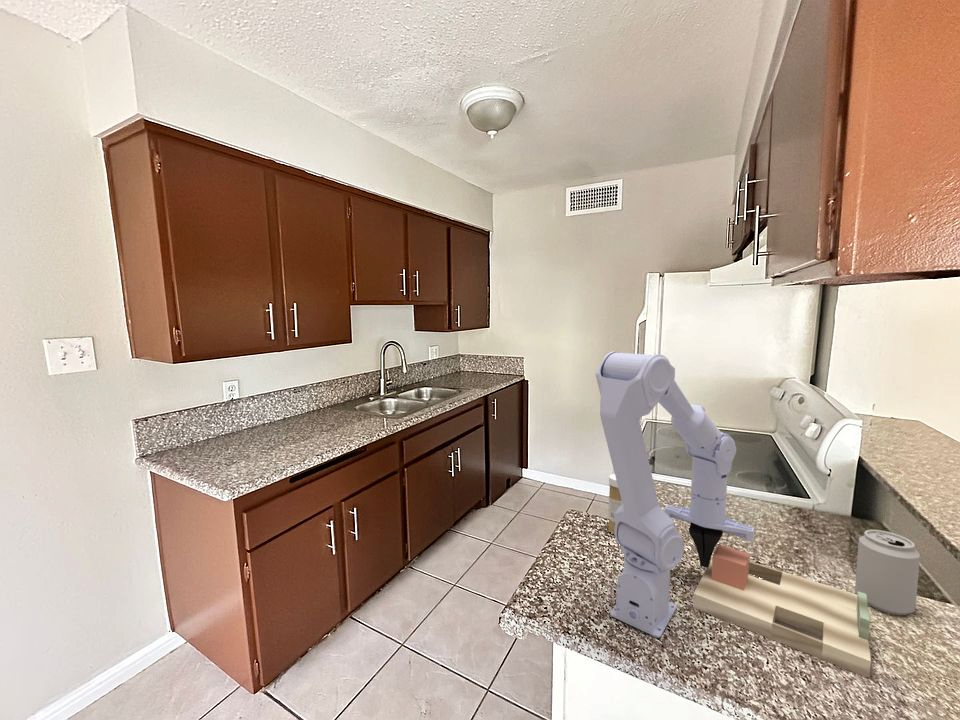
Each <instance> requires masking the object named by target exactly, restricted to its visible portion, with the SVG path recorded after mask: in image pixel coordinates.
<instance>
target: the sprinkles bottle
mask: <svg viewBox="0 0 960 720" xmlns="http://www.w3.org/2000/svg"><path fill="white" fill-rule="evenodd" d="M608 484H609V485H608V486H609V493H608V494H609V495H608V528H607V531H608V530H609V531H608V533H609V532H611V533H612V534H614V530H615V518H614V513H615V512H616V510H617V509H618V508H619V507H620V506H621V505H623V504H622V500H621V496H620V492H619V488H618V484H617V480H616V476H615V473H612V474H610V475H609V476H608ZM612 534H611V535H612Z"/></svg>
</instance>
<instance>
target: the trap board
mask: <svg viewBox="0 0 960 720" xmlns="http://www.w3.org/2000/svg"><path fill="white" fill-rule="evenodd" d="M712 558H713V556H711V560H710V565H709V567H708V568H706V569H705V571H704V573H703V575H702V577H701V579H700V580H699V582H698V585H697V586H696V588H695V590H694V591H693V595H692V596H693V598H692V600H693V601H692V608H693V609H695V610H698V611H701V612H704V613H705V614H708V615H709V616H710V615H711V616H712V617H716V618H718V619H721V620H723V621H726V622H728V623H731V624H733V625H735V626H738V627H739V628H743V629H745V630H748V631H751V632H752V633H756V634H758V635H760V636H763V637H765V638H767V639H770V640H773V641H775V642H778V643H780V644H782V645H786V646H788V647H789V648H791V649H792V648H793V649H795V650H797V651H800V652H803V653H805V654H807V655H810V656H812V657H814V658H817V659H820V660H823V661H824V662H826V663H829V664H833V665H834V664H835V666H837V667H840V668H842V669H845V670H847V671H849V672H852V673H854V674H857V675H859V674H861V675H860V676H862V675H863V676H862V677H864V676H866V677H865V678H867V677H868V678H867V679H870V677H871V667H872V666H871V663H872V659H871V651H870V644H869V639H870V638H869V635H870V634H869V633H870V623H871V620H870V619H871V618H870V612H869V604H868V603H867V596H866V594H865V593H862V592H859V591H858V594H857V593H853V592H850V591H847V590H844V589H840V588H838V587H833V586H831V585H828V584H824V583H821V582H818V581H814V580H811V579H808V578H805V577H802V576H799V575H795V574H792V573H789V572H786V571H783V570H779V569H776V568H773V567H770V566H767V565H764V564H759V563H757V562H754V561H750V560H749V574H752V575H755V576H758V578H756V577H753V576H750V575H748V580H747V583H746V586H745V589H744V591H743V590H740V589H737V588H735V587H732V586H729V585H726V584H723V583H720V582H718V581H715V580H712V579H711V578H712ZM759 577H760V578H763V580H762V579H759Z"/></svg>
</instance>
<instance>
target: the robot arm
mask: <svg viewBox="0 0 960 720" xmlns="http://www.w3.org/2000/svg"><path fill="white" fill-rule="evenodd" d="M595 378H596V382H597V385H598V389H599V394H600V400H599V401H600V402H599V403H600V406H599V414H600V420H601V425H602V429H603V432H604V436H605V441H606V444H607V449H608V452H609V456H610V459H611V464H612V465H611V466H612V468H613V472H614V473H613V474H615V476H616V480H617V484H618V488H619V492H620V496H621V500H622V504H623V505H621V506H620V507H619V508H618V509H617V510H616V512H615V513H614V518H615V530H614V534H615V536H614V538H615V541H616V543H618V545H620V552H621V554H623V556H624V557H623V569H622V571H621V574H620V575H619V577H618V578H617V581H616V592H615V593H616V594H615V605H614V606H613V608H611V610H610V611H609V615H610V616H611V617H612V618H615V619H617V620H619V621H621V622H623V623H626V624H628V625H630V627H631V626H632V627H634V628H636V629H638V630H640V631H643V632H645V633H647V634H648V635H651V636H653V637H655V638H661V637H662V635H663V633H664V631H665V630H666V627H667V625H668V624H669V623H670V621H671V619H672V617H673V615H674V613H675V612H676V610H677V604H675V603H673V602H670V588H671V586H670V585H671V582H670V581H671V570H673V569H674V568H676V567H677V566H678V565H679V564H680V562H681V561H682V558H683V556H684V552H685V551H684V550H685V544H684V539H683V537H682V535H681V533H680V532H679V531H678V530H677V527H676V523H675V521H674V520H673V519H675V520H678V521H683V522H685V523H690V525H689V528H688V533H689V535H690V537H691V540H692V542H693V544H694V546H695V548H696V551H697V555H698V560H699V565H700V566H701V567H703V568H706V569H707V568H708V567H709V565H710V561H711V559H712V557H713V554H714V551H715V549H716V547H717V545H718V543H719V541H720V540H721V539H722V536H723V535H724V533H725V534H729V535H732V536H735V537H740V538H743V539H744V540H745V541H747V542H751V543H752V542H753V541H754V538H755V526H751V525H747V524H744V523H742V522H739V521H737V520H734V519H731V518H729V517H726V511H727V509H726V508H727V507H726V506H727V492H728V491H727V489H728V488H727V487H728V474H730V473H731V471H732V465H733V461H734V458H735V456H736V454H737V447H736V442H735V439H734V438H732V437H731V435H730V434H728V433H726V432H722V431H720V429H719V427H717V425H716V424H715V422H714V421H712V419H711V418H710V417H709V415H708V414H707V412H706V409H705V408H704V406H703V405H697V404H695V403H690V401H689V400H688V399H687V397H686V395H685V394H684V392H683V391H682V390H681V389H682V388H680V386H679V385H678V383H677V382H676V380H675V378H676V368H675V367H674V366H673V365H672V364H671V362H670V361H669V359H668V357H666V356H665V355H664V354H662V353H661V354H660V353H658V354H657V353H654V354H647V353H646V354H645V353H644V354H643V353H630V352H620V351H617V350H616V351H615V350H614V351H610V352H608V353H607V354H605V355H604V356H603V357H602V360H601V361H600V363H599V366H598V367H597V369H596V372H595ZM657 404H659V405H660V406H661V407H662V408H664V409H665V411H666V412H667V413H669V414H670V415H671V418H670V423H671V426H672V427H673V428H674V430H675V431H676V432H677V433H678V434H679V435H680V437H681V438H682V439H683V442H684V445H685V452H686V454H687V455H689V456H692V458H691V459H692V462H691V463H692V464H691V484H690V503H689V504H690V505H689V506H690V507H684V506H683V507H682V506H676V505H671V504H666V506H665V507H664V510H663V508H661V505H659V500H658V496H657V491H656V486H655V483H654V478H653V477H654V476H653V473H652V470H651V465H650V460H649V457H648V452H647V447H646V444H645V439H644V438H645V437H644V436H643V435H644V434H643V430H642V426H641V421H640V420H641V419H642V417H644V416H648V415H649V414H650V413H651V412H652V410H653V409H654V408H655V407H656V406H657Z"/></svg>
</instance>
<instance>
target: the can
mask: <svg viewBox="0 0 960 720" xmlns="http://www.w3.org/2000/svg"><path fill="white" fill-rule="evenodd" d="M915 547H916V544H915V543H914V542H913V541H912V540H911V539H908V538H907V537H905V536H902V535H900V534H898V533H894V532H890V531H887V530H881V529H867V530H865V531H864V532H863V535H862V536H860V537H859V538H858V545H857V556H856V557H857V560H856V571H855V586H854V588H855V589H854V590H855V594H858V591H859V592H862V593H865V594H866V596H867V603H868V606H870V607H873V608H875V609H876V610H879V611H881V612H884V613H887V614H890V615H895V616H896V615H897V616H905V615H907V614H908V615H909V614H911V613H912V614H913V613H914V612H915V611H916V604H917V593H918V586H919V585H918V582H919V570H920V560H921V555H920V553H919V551H918V550H917V549H916V548H915Z"/></svg>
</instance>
